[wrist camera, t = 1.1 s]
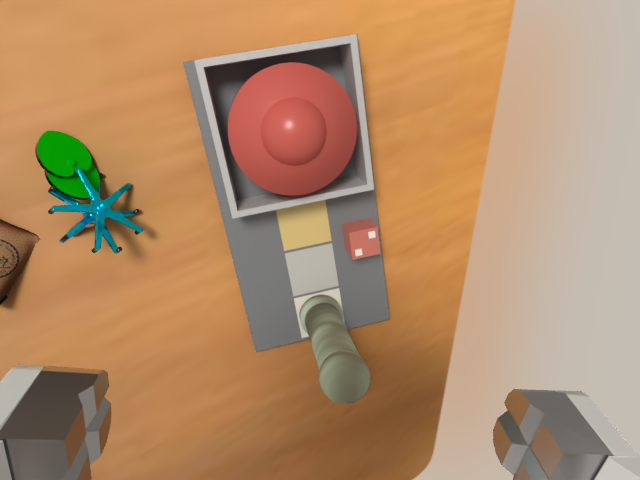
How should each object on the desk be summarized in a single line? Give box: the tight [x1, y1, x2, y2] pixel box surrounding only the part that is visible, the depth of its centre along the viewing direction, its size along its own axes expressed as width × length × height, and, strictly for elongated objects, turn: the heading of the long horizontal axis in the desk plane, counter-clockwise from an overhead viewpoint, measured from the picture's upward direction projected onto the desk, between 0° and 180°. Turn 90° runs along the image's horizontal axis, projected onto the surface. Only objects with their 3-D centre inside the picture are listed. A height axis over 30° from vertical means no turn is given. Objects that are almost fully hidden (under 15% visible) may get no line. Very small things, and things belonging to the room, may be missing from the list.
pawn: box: [299, 295, 370, 404], centre depth 44 cm, size 5×5×14 cm
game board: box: [183, 34, 390, 352], centre depth 44 cm, size 16×31×5 cm, turn 9°
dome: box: [228, 62, 357, 195], centre depth 38 cm, size 11×11×6 cm
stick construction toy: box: [35, 131, 143, 254], centre depth 41 cm, size 12×7×8 cm
